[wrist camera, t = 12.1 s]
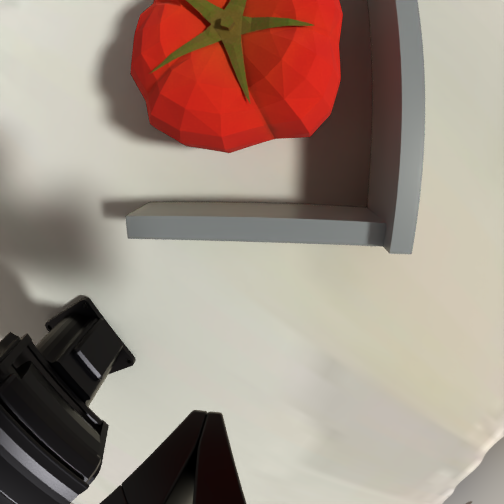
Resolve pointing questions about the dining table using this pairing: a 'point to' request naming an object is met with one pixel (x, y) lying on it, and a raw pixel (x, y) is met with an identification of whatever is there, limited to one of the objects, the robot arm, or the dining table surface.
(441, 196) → the dining table surface
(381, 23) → the u-shaped frame
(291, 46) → the tomato
